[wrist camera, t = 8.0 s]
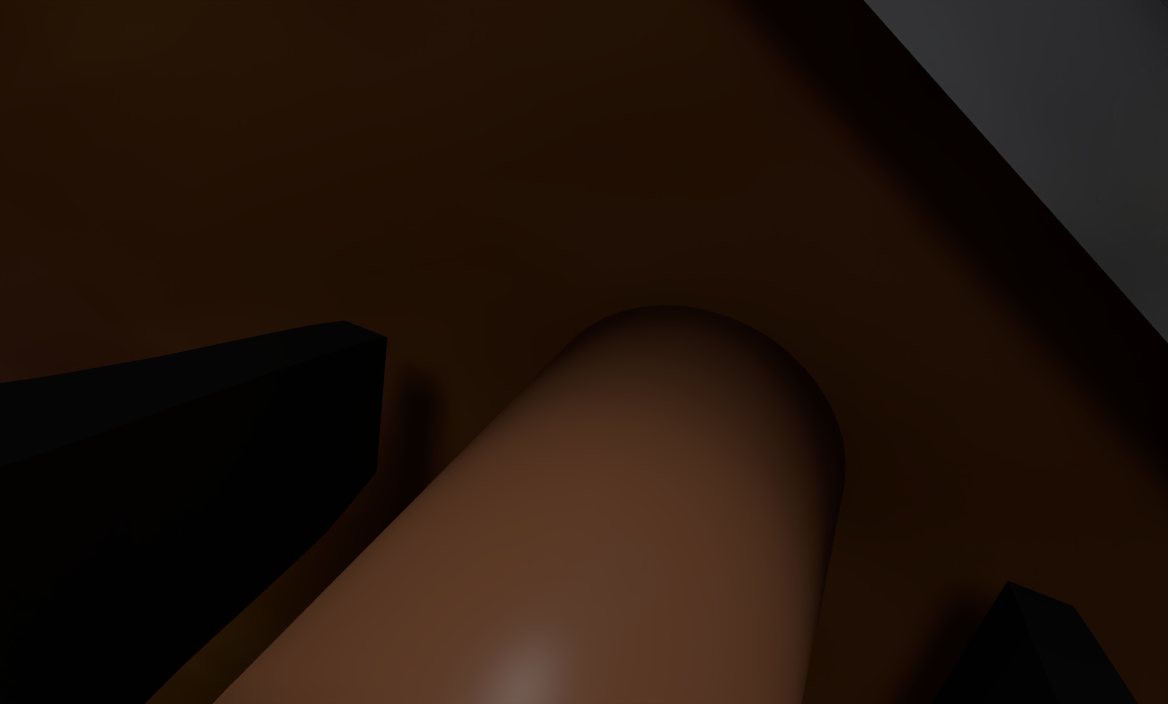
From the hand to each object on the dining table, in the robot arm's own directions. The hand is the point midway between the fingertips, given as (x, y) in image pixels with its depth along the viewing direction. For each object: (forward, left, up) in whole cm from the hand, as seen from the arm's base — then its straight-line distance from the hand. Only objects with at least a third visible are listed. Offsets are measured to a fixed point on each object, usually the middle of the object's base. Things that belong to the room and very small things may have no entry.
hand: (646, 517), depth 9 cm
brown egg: (0, 0, -1) cm, 1 cm away
